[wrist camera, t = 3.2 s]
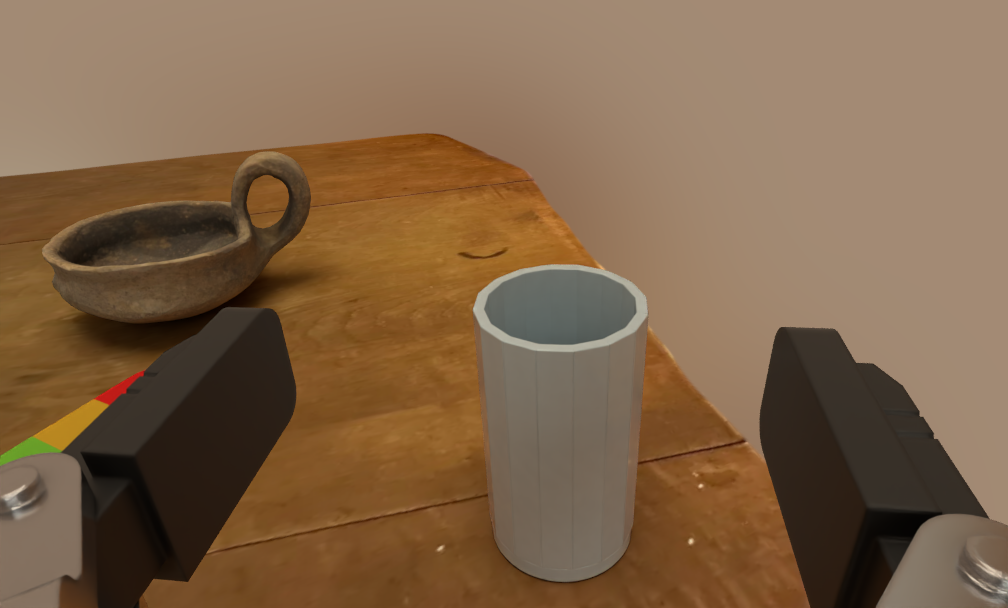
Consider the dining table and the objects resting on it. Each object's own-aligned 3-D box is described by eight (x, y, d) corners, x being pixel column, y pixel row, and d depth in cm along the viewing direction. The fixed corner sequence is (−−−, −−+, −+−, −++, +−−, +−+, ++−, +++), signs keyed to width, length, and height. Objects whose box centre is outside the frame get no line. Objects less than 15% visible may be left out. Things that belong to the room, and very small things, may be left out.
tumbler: (661, 529, 28) (684, 305, 22) (555, 611, 25) (551, 374, 19) (565, 454, 32) (565, 250, 26) (465, 516, 29) (440, 299, 23)
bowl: (95, 280, 51) (44, 156, 46) (321, 243, 55) (297, 125, 50) (45, 377, 40) (-29, 226, 35) (335, 321, 44) (306, 179, 39)
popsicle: (224, 412, 36) (215, 385, 35) (-88, 645, 25) (-113, 614, 24) (159, 387, 38) (148, 361, 37) (-154, 590, 27) (-180, 559, 26)
